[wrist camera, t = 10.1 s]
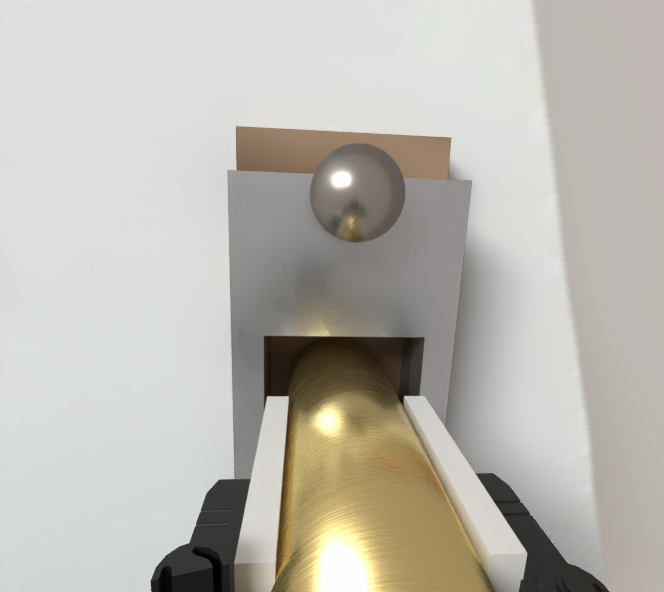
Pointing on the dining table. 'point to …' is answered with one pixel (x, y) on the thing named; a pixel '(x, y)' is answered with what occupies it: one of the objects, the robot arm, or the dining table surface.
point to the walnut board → (304, 157)
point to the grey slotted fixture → (342, 272)
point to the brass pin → (362, 487)
